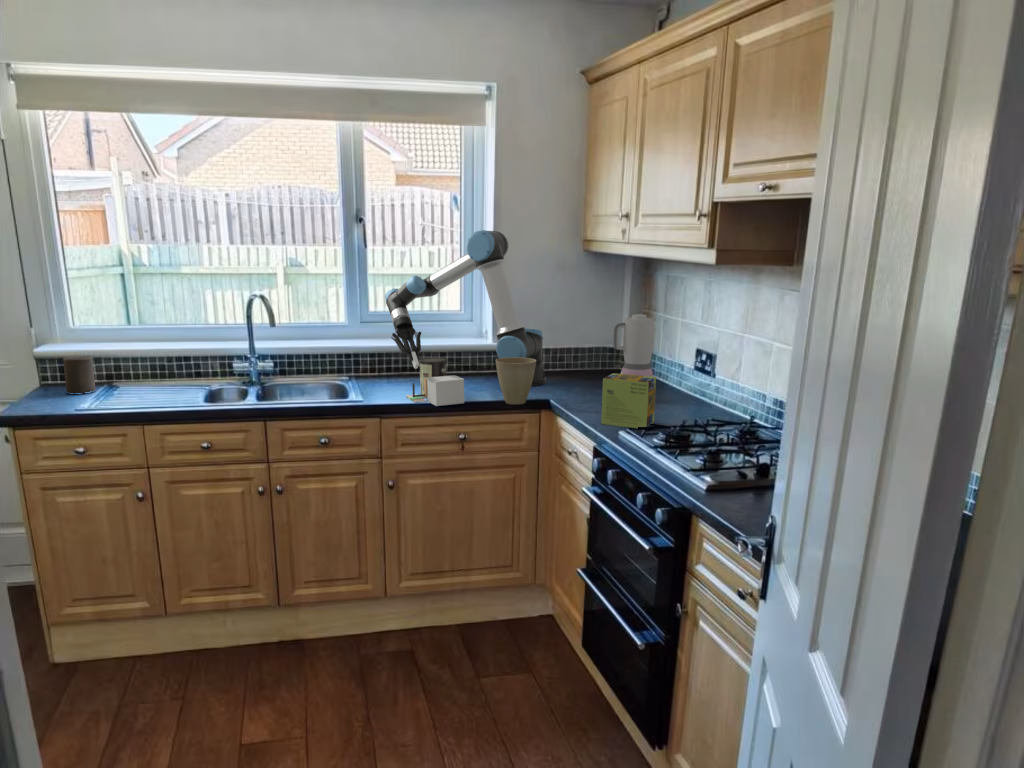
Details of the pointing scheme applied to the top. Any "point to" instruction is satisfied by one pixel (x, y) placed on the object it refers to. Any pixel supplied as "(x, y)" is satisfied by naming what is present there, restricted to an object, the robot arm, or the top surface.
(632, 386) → the protein box
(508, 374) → the plant pot
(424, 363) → the coffee can
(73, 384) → the pillar candle
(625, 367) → the blender
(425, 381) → the gauge plunger
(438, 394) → the gauge frame
